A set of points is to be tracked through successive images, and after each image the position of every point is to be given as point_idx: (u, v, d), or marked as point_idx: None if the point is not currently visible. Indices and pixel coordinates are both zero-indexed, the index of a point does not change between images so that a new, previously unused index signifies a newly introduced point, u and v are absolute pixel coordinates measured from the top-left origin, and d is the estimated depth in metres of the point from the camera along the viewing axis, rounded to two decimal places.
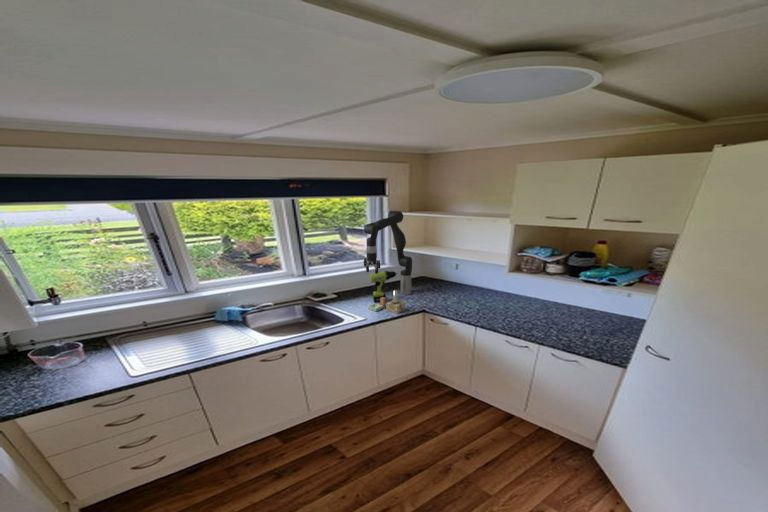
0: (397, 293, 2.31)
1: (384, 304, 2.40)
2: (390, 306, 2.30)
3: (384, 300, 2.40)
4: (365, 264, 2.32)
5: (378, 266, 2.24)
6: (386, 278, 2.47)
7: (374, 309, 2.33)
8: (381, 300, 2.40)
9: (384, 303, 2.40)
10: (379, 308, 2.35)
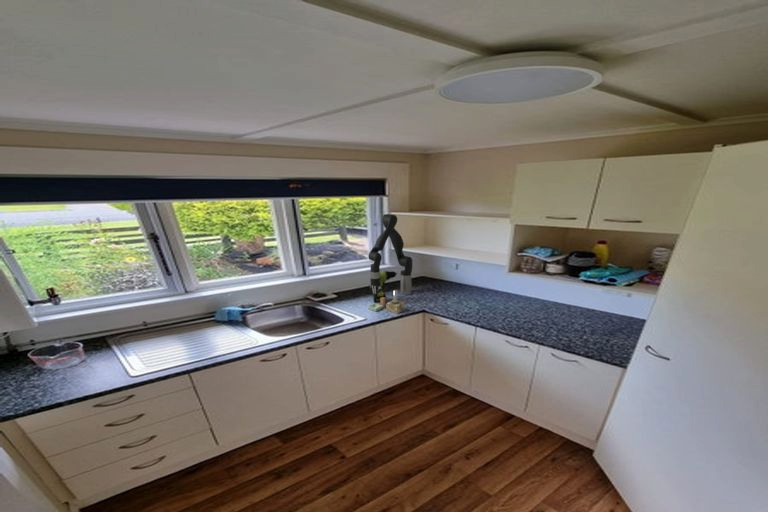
0: (397, 293, 2.31)
1: (384, 304, 2.40)
2: (390, 306, 2.30)
3: (384, 300, 2.40)
4: None
5: (378, 292, 2.41)
6: (386, 278, 2.47)
7: (374, 309, 2.33)
8: (381, 300, 2.40)
9: (384, 303, 2.40)
10: (379, 308, 2.35)
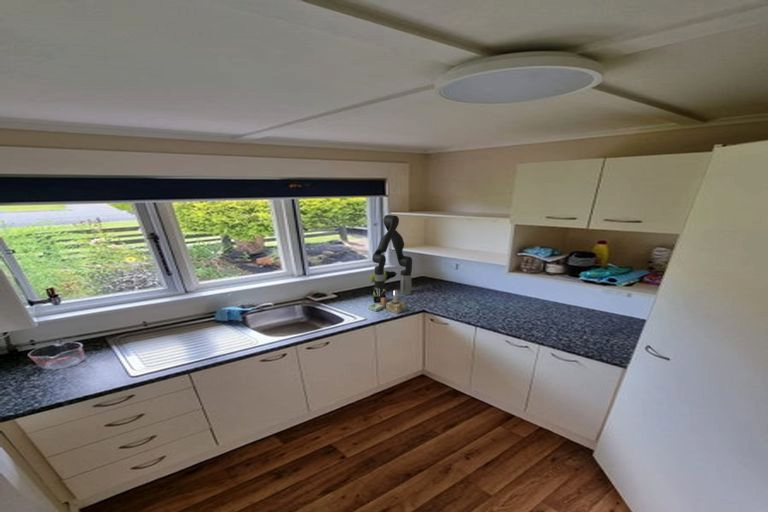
0: (397, 293, 2.31)
1: (384, 304, 2.40)
2: (390, 306, 2.30)
3: (384, 300, 2.39)
4: (377, 293, 2.43)
5: (382, 295, 2.39)
6: (386, 278, 2.47)
7: (374, 309, 2.33)
8: (381, 300, 2.39)
9: (384, 303, 2.40)
10: (379, 308, 2.35)
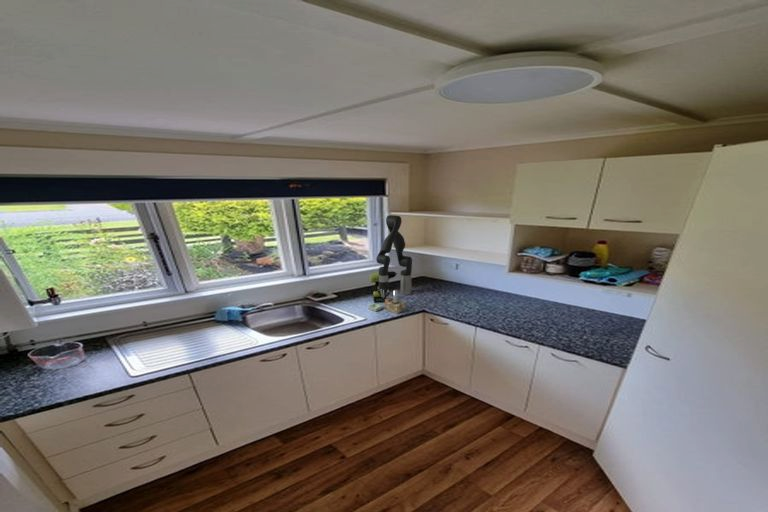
0: (397, 293, 2.31)
1: None
2: (390, 306, 2.30)
3: (389, 301, 2.37)
4: (381, 294, 2.40)
5: (386, 296, 2.36)
6: None
7: (374, 309, 2.33)
8: (386, 301, 2.37)
9: None
10: (379, 308, 2.35)
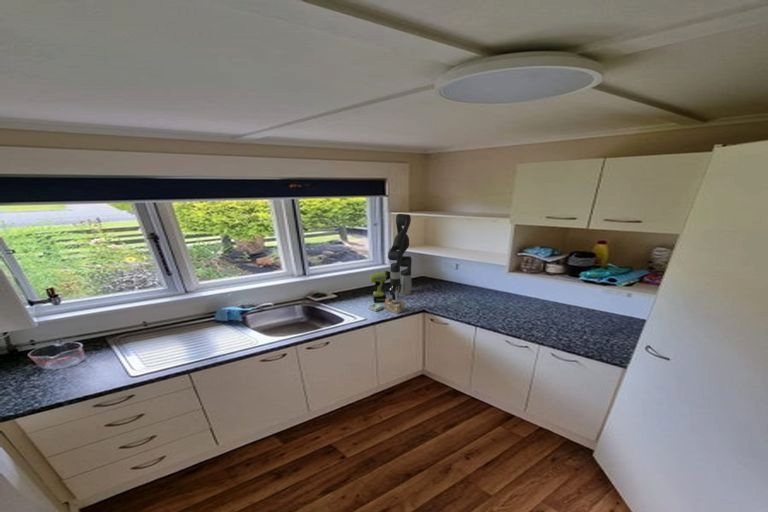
0: (397, 293, 2.31)
1: None
2: (390, 306, 2.30)
3: (389, 301, 2.37)
4: (398, 290, 2.34)
5: (390, 293, 2.28)
6: (386, 278, 2.47)
7: (374, 309, 2.33)
8: (386, 301, 2.37)
9: None
10: (379, 308, 2.35)
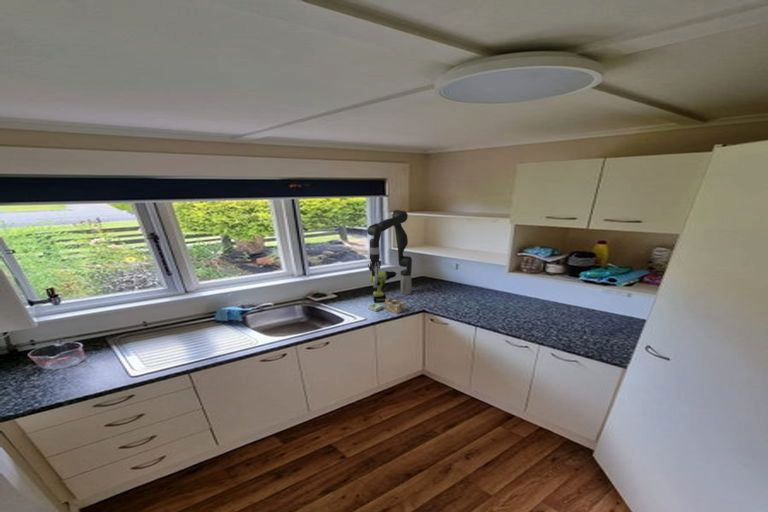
0: None
1: None
2: (390, 306, 2.30)
3: (389, 301, 2.37)
4: None
5: (369, 269, 2.27)
6: (386, 278, 2.47)
7: (374, 309, 2.33)
8: (386, 301, 2.37)
9: None
10: (379, 308, 2.35)
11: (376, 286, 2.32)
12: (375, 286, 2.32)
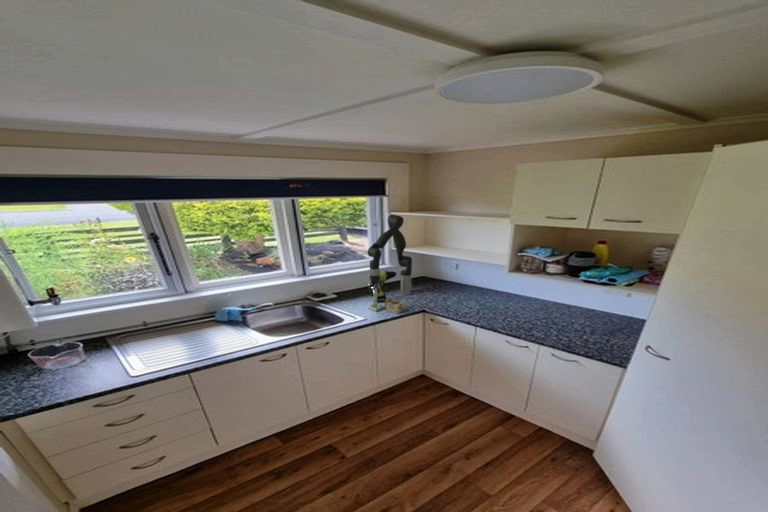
0: None
1: None
2: (390, 306, 2.30)
3: (389, 301, 2.37)
4: None
5: (368, 289, 2.29)
6: (386, 278, 2.47)
7: (374, 309, 2.33)
8: (386, 301, 2.37)
9: None
10: (379, 308, 2.35)
11: (376, 307, 2.36)
12: (375, 307, 2.36)
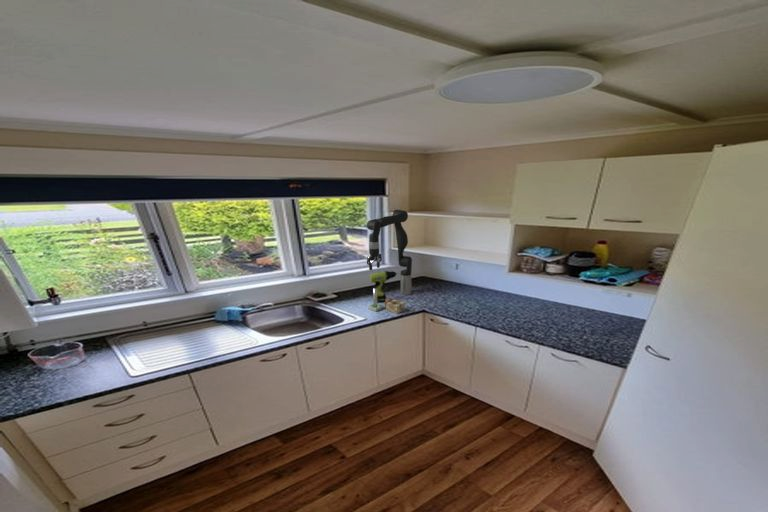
0: None
1: None
2: (390, 306, 2.30)
3: (389, 301, 2.37)
4: (379, 259, 2.34)
5: (367, 262, 2.24)
6: (386, 278, 2.47)
7: (374, 309, 2.33)
8: (386, 301, 2.37)
9: None
10: (379, 308, 2.35)
11: (376, 307, 2.36)
12: (375, 307, 2.36)
